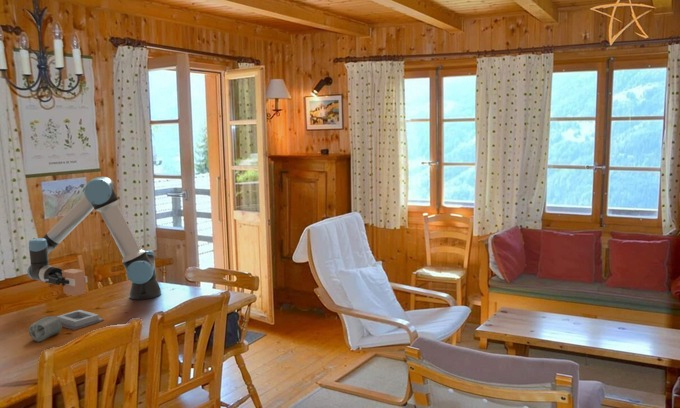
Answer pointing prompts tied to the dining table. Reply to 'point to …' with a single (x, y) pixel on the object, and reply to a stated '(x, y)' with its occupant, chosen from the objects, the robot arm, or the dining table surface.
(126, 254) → the robot arm
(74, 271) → the key block
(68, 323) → the base
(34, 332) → the grey faceted cylinder
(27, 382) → the dining table surface
